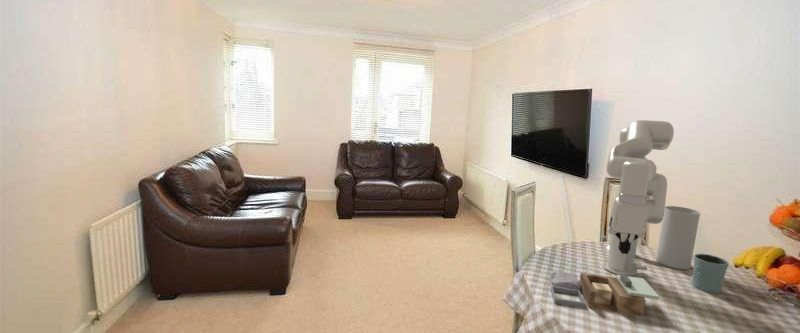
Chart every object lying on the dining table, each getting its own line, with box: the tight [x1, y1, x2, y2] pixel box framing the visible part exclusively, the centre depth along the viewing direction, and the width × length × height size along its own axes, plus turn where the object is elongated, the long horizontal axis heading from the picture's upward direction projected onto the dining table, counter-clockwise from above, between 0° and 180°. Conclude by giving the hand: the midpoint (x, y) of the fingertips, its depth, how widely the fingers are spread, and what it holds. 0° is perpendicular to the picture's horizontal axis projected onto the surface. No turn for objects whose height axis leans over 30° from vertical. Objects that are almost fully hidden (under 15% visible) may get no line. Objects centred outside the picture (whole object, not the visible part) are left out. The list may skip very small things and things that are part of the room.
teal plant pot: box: [691, 253, 730, 294], centre depth 143 cm, size 10×10×12 cm
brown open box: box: [579, 272, 647, 317], centre depth 128 cm, size 16×15×6 cm
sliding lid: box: [615, 274, 660, 300], centre depth 126 cm, size 8×14×3 cm, turn 166°
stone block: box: [550, 271, 581, 292], centre depth 140 cm, size 12×5×10 cm
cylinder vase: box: [655, 205, 701, 270], centre depth 164 cm, size 12×12×25 cm
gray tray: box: [549, 285, 586, 309], centre depth 128 cm, size 9×9×2 cm
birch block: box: [592, 282, 612, 305], centre depth 128 cm, size 5×5×5 cm
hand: (623, 252), depth 125 cm, fingers closed
